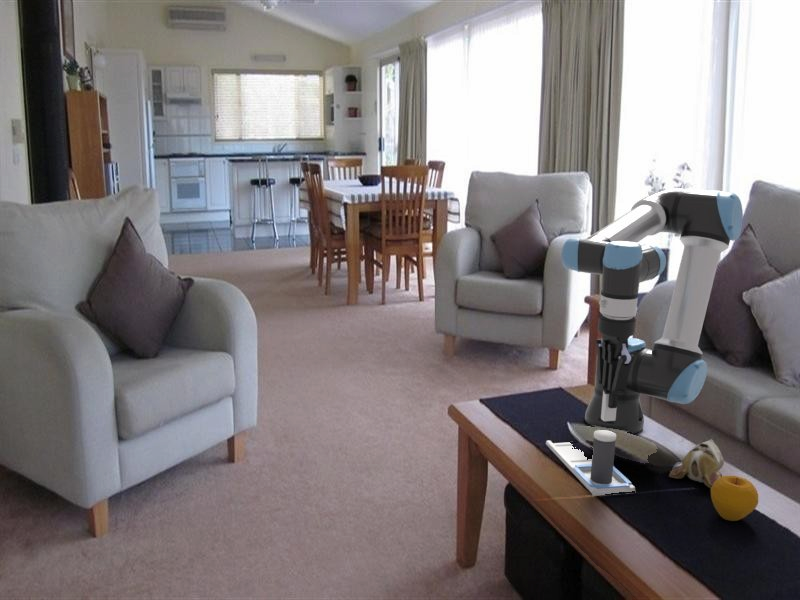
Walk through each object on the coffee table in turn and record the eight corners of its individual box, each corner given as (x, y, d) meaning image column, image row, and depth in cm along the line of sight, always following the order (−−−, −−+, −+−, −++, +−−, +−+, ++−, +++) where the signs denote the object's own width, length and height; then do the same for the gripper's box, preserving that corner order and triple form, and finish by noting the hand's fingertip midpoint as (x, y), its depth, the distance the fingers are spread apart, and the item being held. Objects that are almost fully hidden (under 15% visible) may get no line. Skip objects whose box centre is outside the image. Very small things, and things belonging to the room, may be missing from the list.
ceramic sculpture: (736, 438, 168) (718, 464, 156) (733, 473, 170) (714, 501, 158) (688, 427, 174) (668, 451, 162) (685, 460, 176) (664, 486, 165)
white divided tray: (582, 443, 184) (583, 437, 184) (635, 492, 159) (636, 485, 159) (545, 445, 182) (545, 439, 182) (592, 496, 157) (593, 489, 157)
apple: (742, 535, 144) (749, 492, 142) (698, 516, 150) (704, 476, 148) (762, 520, 149) (768, 479, 147) (719, 503, 156) (724, 463, 154)
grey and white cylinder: (605, 473, 167) (609, 429, 164) (616, 483, 162) (620, 437, 160) (586, 475, 166) (590, 430, 163) (596, 485, 161) (600, 439, 159)
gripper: (587, 308, 161) (579, 409, 167) (615, 324, 149) (606, 433, 154) (618, 307, 163) (609, 407, 168) (649, 322, 150) (638, 430, 156)
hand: (608, 419), depth 161 cm, fingers closed
